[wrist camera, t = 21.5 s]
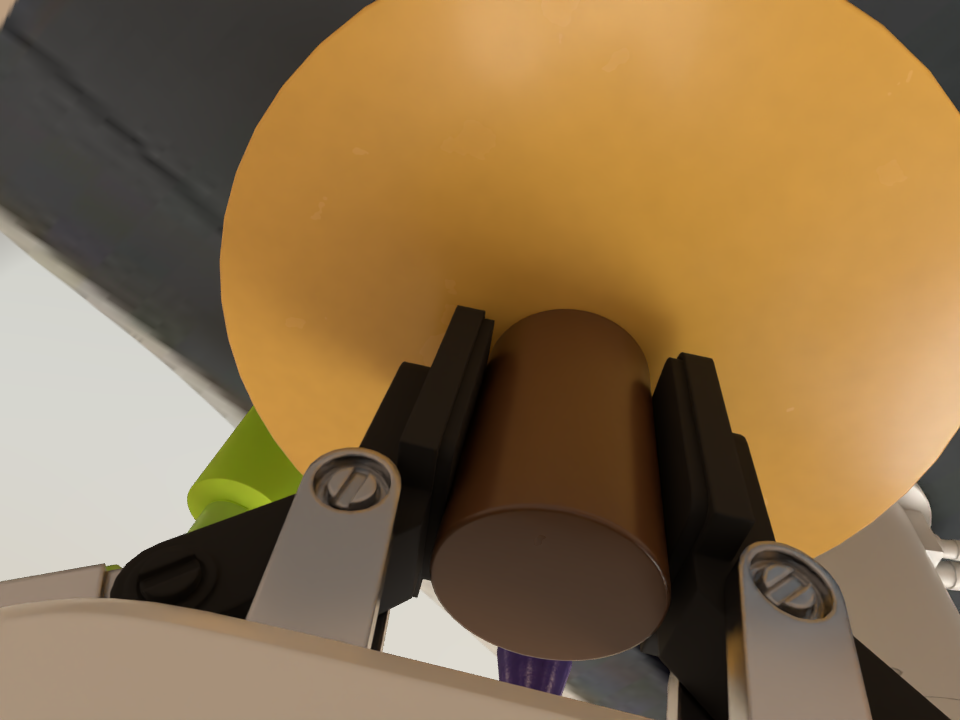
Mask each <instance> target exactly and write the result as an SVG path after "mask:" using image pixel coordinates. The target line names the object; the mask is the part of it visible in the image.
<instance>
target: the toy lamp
mask: <svg viewBox="0 0 960 720" xmlns="http://www.w3.org/2000/svg"><path fill="white" fill-rule="evenodd" d="M497 659H498V669H499V681H502V682H506V683H510V684H514V685H518V686H522V687H526V688H530V689H534V690H538V691H542V692H546V693H550V694H554V695H558V696H562V693H563V690H564V687H565V684H566V681H567V678H568V675H569V673H570V670H571V666H572V661H561V660H549V659H541V658H535V657H531V656H526V655H522V654H518V653H515V652H511V651H509V650H506V649H503V648H501V647H498V649H497Z"/></svg>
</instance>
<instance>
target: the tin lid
mask: <svg viewBox="0 0 960 720" xmlns="http://www.w3.org/2000/svg"><path fill="white" fill-rule="evenodd" d="M220 278H221V301H222V307H223V312H224V318H225V324H226V329H227V335H228V340H229V343H230V346H231V349H232V352H233V356H234V359H235V362H236V365H237V368H238V371H239V374H240V377H241V379H242V381H243V383H244V386H245V388H246V390H247V392H248V394H249V396H250V399H251V401H252V403H253V405H254V407H255V409H256V411H257V413H258V414H259V416H260V418H261V419H262V421H263V422H264V424H265V426H266V427H267V429H268V431H269V432H270V434H271V436H272V437H273V439H274V440H275V442H276V443H277V444H278V446H279V447H280V448H281V449H282V451H283V452H284V453H285V455H286V456H287V457H288V458H289V460H290V461H291V462H292V464H293V465H294V466H295V468H296V469H297V470H298V471H299V472H300V473H301V474H302V475H304V473H305V472H306V470H307V469H308V467H309V465H310V464H311V463H312V462H314V461H315V460H316V459H317V458H318V457H320V456H321V455H323V454H326V453H328V452H330V451H332V450H336V449H341V448H347V447H359V446H360V444H361V442H362V440H363V438H364V436H365V434H366V432H367V430H368V428H369V426H370V424H371V422H372V420H373V418H374V416H375V414H376V412H377V410H378V408H379V406H380V404H381V402H382V400H383V398H384V396H385V394H386V392H387V390H388V388H389V386H390V384H391V383H392V381H393V379H394V377H395V375H396V373H397V371H398V369H399V367H400V365H401V364H402V362H404V361H405V362H409V363H414V364H419V365H423V366H428V367H431V365H432V363H433V361H434V358H435V356H436V354H437V351H438V349H439V347H440V344H441V342H442V340H443V337H444V335H445V333H446V330H447V328H448V326H449V323H450V321H451V319H452V316H453V314H454V312H455V309H456V307H457V305H460V306H465V307H470V308H474V309H479V310H484V311H485V312H486V313H485V318H486V319H491V320H495V323H494V330H493V335H492V341H491V346H490V352H489V358H488V363H487V368H486V371H485V375H484V378H483V381H482V385H481V388H480V392H479V395H478V398H477V402H476V405H475V409H474V412H473V416H472V419H471V422H470V426H469V429H468V433H467V436H466V439H465V443H464V446H463V450H462V453H461V456H460V460H459V463H458V467H457V470H456V474H455V477H454V480H453V484H452V487H451V491H450V494H449V497H448V501H447V504H446V508H445V511H444V514H443V516H442V520H441V523H440V527H439V530H438V533H437V537H436V540H435V544H434V547H433V550H432V554H431V558H430V568H429V570H430V577H431V583H432V586H433V589H434V592H435V594H436V596H437V598H438V600H439V601H440V603H441V604H442V606H443V607H444V608H445V610H446V611H447V612H448V613H449V614H450V615H451V616H452V617H453V618H454V619H455V620H456V621H457V622H458V623H459V624H460V625H462V626H463V627H464V628H466V629H467V630H468V631H470V632H471V633H473V634H474V635H476V636H478V637H480V638H481V639H483V640H485V641H487V642H489V643H491V644H493V645H496V646H498V647H501V648H503V649H506V650H509V651H511V652H515V653H518V654H522V655H526V656H531V657H535V658H541V659H549V660H561V661H581V660H592V659H598V658H604V657H608V656H612V655H615V654H619V653H621V652H624V651H626V650H629V649H631V648H633V647H635V646H637V645H639V644H640V643H642V642H643V641H645V640H646V639H647V638H649V637H650V636H651V635H652V634H653V633H654V632H655V631H656V630H657V629H658V628H659V626H660V625H661V623H662V622H663V621H664V618H665V616H666V614H667V612H668V609H669V606H670V601H671V583H670V573H669V563H668V554H667V544H666V534H665V524H664V514H663V504H662V494H661V484H660V474H659V464H658V454H657V444H656V434H655V424H654V414H653V404H652V396H653V393H654V390H655V388H656V385H657V383H658V380H659V377H660V375H661V372H662V369H663V367H664V364H665V362H666V360H667V359H668V358H669V357H671V358H676V359H677V357H678V356H679V354H680V353H681V352H684V353H689V354H694V355H699V356H703V357H708V358H712V359H713V361H714V364H715V368H716V372H717V376H718V380H719V383H720V387H721V391H722V395H723V399H724V403H725V407H726V410H727V414H728V418H729V422H730V426H731V430H732V433H736V434H741V435H743V436H744V437H745V438H746V441H747V443H748V446H749V449H750V453H751V456H752V460H753V463H754V467H755V470H756V474H757V477H758V481H759V484H760V488H761V491H762V495H763V498H764V502H765V505H766V509H767V512H768V516H769V519H770V523H771V526H772V530H773V533H774V537H775V540H776V542H779V543H784V544H787V545H789V546H792V547H794V548H796V549H799V550H801V551H803V552H804V553H806V554H807V555H809V556H810V557H812V558H813V559H814V558H815V557H817V556H819V555H821V554H823V553H825V552H827V551H829V550H830V549H832V548H834V547H836V546H838V545H840V544H841V543H843V542H844V541H845V540H847V539H848V538H850V537H851V536H853V535H854V534H856V533H857V532H859V531H860V530H862V529H863V528H865V527H866V526H868V525H869V524H871V523H872V522H874V521H875V520H876V519H877V518H878V517H879V516H881V515H882V514H883V513H884V512H885V511H886V510H888V509H889V508H890V507H891V506H892V505H893V504H895V503H896V502H897V501H898V500H899V499H900V498H902V497H903V496H904V495H905V494H906V493H907V492H908V491H909V490H910V489H911V488H912V487H913V486H914V485H915V484H916V482H917V481H918V480H919V479H920V478H921V477H922V476H923V475H924V474H925V473H926V471H927V470H928V469H929V468H930V467H931V466H932V465H933V464H934V463H935V462H936V460H937V459H938V458H939V456H940V455H941V453H942V452H943V451H944V449H945V448H946V446H947V445H948V443H949V442H950V440H951V439H952V437H953V436H954V435H955V433H956V432H957V430H958V429H959V427H960V113H959V112H958V110H957V109H956V107H955V106H954V104H953V103H952V102H951V100H950V99H949V97H948V96H947V95H946V93H945V92H944V90H943V89H942V87H941V86H940V85H939V83H938V82H937V80H936V79H935V77H934V76H933V75H932V73H931V72H930V70H929V69H928V68H927V67H926V66H925V65H924V64H922V63H921V62H920V61H919V60H918V59H917V58H916V57H915V56H914V55H913V54H912V53H911V52H910V51H909V50H908V49H907V48H906V47H905V46H904V45H903V44H902V43H901V42H900V41H899V40H898V39H897V38H896V37H895V36H894V35H893V34H892V33H891V32H890V31H889V30H888V29H887V28H886V27H885V26H883V25H882V24H881V23H879V22H878V21H876V20H875V19H874V18H872V17H871V16H869V15H868V14H866V13H865V12H863V11H862V10H860V9H859V8H857V7H856V6H854V5H853V4H851V3H850V2H848V1H847V0H376V1H374V2H373V3H371V4H369V5H367V6H366V7H364V8H363V9H362V10H360V11H359V12H358V13H357V14H356V15H354V16H353V17H352V18H351V19H349V20H348V21H347V22H346V23H345V24H343V25H342V26H341V27H340V28H338V29H337V30H336V31H335V32H334V33H332V34H331V35H330V36H329V37H328V38H326V39H325V40H324V41H323V42H321V43H320V44H319V45H318V46H317V47H316V48H315V50H314V51H313V52H312V53H311V54H310V55H309V56H308V57H307V59H306V60H305V61H304V62H303V63H302V64H301V65H300V66H299V68H298V69H297V70H296V71H295V72H294V73H293V74H292V75H291V77H290V78H289V79H288V80H287V81H286V82H285V83H284V84H283V86H282V87H281V89H280V90H279V92H278V94H277V95H276V97H275V98H274V100H273V101H272V103H271V104H270V106H269V108H268V109H267V111H266V112H265V114H264V115H263V117H262V119H261V120H260V122H259V123H258V125H257V126H256V128H255V130H254V132H253V135H252V137H251V139H250V142H249V144H248V146H247V148H246V151H245V153H244V155H243V158H242V160H241V162H240V164H239V167H238V169H237V171H236V175H235V178H234V182H233V186H232V190H231V194H230V197H229V201H228V205H227V209H226V213H225V217H224V225H223V234H222V244H221V253H220Z"/></svg>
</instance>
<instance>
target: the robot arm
mask: <svg viewBox="0 0 960 720" xmlns="http://www.w3.org/2000/svg"><path fill="white" fill-rule="evenodd" d="M485 313H486V312H485V311H484V310H479V309H474V308H470V307H465V306H460V305H457V307H456V309H455V312H454V314H453V316H452V319H451V321H450V323H449V326H448V328H447V330H446V333H445V335H444V337H443V340H442V342H441V344H440V347H439V349H438V351H437V354H436V356H435V358H434V361H433V363H432V365H431V367H428V366H423V365H419V364H414V363H409V362H405V361H404V362H402V364H401V365H400V367H399V369H398V371H397V373H396V375H395V377H394V379H393V381H392V383H391V384H390V386H389V388H388V390H387V392H386V394H385V396H384V398H383V400H382V402H381V404H380V406H379V408H378V410H377V412H376V414H375V416H374V418H373V420H372V422H371V424H370V426H369V428H368V430H367V432H366V434H365V436H364V438H363V440H362V442H361V444H360V446H359V447H347V448H341V449H336V450H332V451H330V452H328V453H326V454H323V455H321V456H320V457H318V458H317V459H316V460H315V461H314V462H312V463H311V464H310V465H309V467H308V469H307V470H306V472H305V473H304V475H303V477H302V480H301V482H300V485H299V487H298V490H297V492H296V494H293V495H290V496H288V497H285V498H282V499H279V500H277V501H274V502H271V503H268V504H266V505H263V506H260V507H257V508H255V509H252V510H249V511H246V512H244V513H241V514H238V515H235V516H233V517H230V518H227V519H224V520H222V521H219V522H216V523H214V524H211V525H208V526H205V527H203V528H200V529H197V530H194V531H192V532H189V533H186V534H183V535H181V536H178V537H175V538H172V539H170V540H167V541H164V542H161V543H159V544H157V545H155V546H153V547H151V548H149V549H146V550H144V551H143V552H141V553H140V554H138V555H137V556H136V557H135V558H133V559H132V560H131V561H130V562H128V563H127V564H126V566H125V567H124V568H120V569H115V570H109V571H107V568H106V565H105V563H104V564H98V565H92V566H87V567H81V568H75V569H70V570H64V571H58V572H52V573H47V574H41V575H36V576H30V577H24V578H18V579H13V580H7V581H1V582H0V720H654V719H650V718H646V717H642V716H638V715H634V714H630V713H626V712H622V711H618V710H614V709H610V708H606V707H602V706H598V705H594V704H590V703H586V702H582V701H578V700H574V699H570V698H566V697H562V696H558V695H554V694H550V693H546V692H542V691H538V690H534V689H530V688H526V687H522V686H518V685H514V684H510V683H506V682H502V681H498V680H494V679H490V678H486V677H482V676H478V675H474V674H469V673H466V672H462V671H457V670H453V669H449V668H445V667H441V666H437V665H432V664H429V663H425V662H420V661H417V660H412V659H408V658H404V657H400V656H396V655H392V654H388V653H384V652H382V650H383V646H384V640H385V635H386V629H387V625H388V619H389V614H390V609H391V608H393V607H395V606H397V605H399V604H401V603H403V602H405V601H407V600H409V599H411V598H412V597H418V594H419V590H420V587H421V583H422V580H423V579H426V580H430V581H431V577H430V570H429V568H430V558H431V554H432V550H433V547H434V544H435V540H436V537H437V533H438V530H439V527H440V523H441V520H442V516H443V514H444V511H445V508H446V504H447V501H448V497H449V494H450V491H451V487H452V484H453V480H454V477H455V474H456V470H457V467H458V463H459V460H460V456H461V453H462V450H463V446H464V443H465V439H466V436H467V433H468V429H469V426H470V422H471V419H472V416H473V412H474V409H475V405H476V402H477V398H478V395H479V392H480V388H481V385H482V381H483V378H484V375H485V371H486V368H487V363H488V358H489V352H490V346H491V341H492V335H493V330H494V323H495V320H491V319H486V318H485ZM652 404H653V414H654V424H655V434H656V444H657V454H658V464H659V474H660V484H661V494H662V504H663V514H664V524H665V534H666V544H667V554H668V563H669V573H670V583H671V601H670V606H669V609H668V612H667V614H666V616H665V618H664V621H663V622H662V623H661V625H660V626H659V628H658V629H657V630H656V631H655V632H654V633H653V634H652V635H651V636H650V637H649V638H647V639H646V640H645V641H643V642H642V643H640V648H641V652H643V653H647V654H651V655H655V656H659V659H660V660H661V661H662V662H663V663H664V664H665V665H666V666H667V667H668V669H669V670H670V675H669V680H668V693H667V716H666V720H960V614H959V612H958V610H957V608H956V607H955V605H954V603H953V601H952V599H951V597H950V595H949V593H948V592H947V590H946V588H947V589H950V590H957V591H960V562H955V561H947V560H946V561H944V562H943V561H940V560H941V559H942V558H948V559H951V560H956V561H960V540H952V539H951V540H944V539H940V538H939V536H937V535H936V534H933V532H932V530H931V528H930V527H931V518H932V512H931V508H930V505H929V501H928V500H927V498H926V496H925V494H924V493H923V491H922V489H921V487H920V486H919V485H918V484H917V483H916V484H915V485H914V486H913V487H912V488H911V489H910V490H909V491H908V492H907V493H906V494H905V495H904V496H903V497H902V498H900V499H899V500H898V501H897V502H896V503H895V504H893V505H892V506H891V507H890V508H889V509H888V510H886V511H885V512H884V513H883V514H882V515H881V516H879V517H878V518H877V519H876V520H875V521H874V522H872V523H871V524H869V525H868V526H866V527H865V528H863V529H862V530H860V531H859V532H857V533H856V534H854V535H853V536H851V537H850V538H848V539H847V540H845V541H844V542H843V543H841V544H840V545H838V546H836V547H834V548H832V549H830V550H829V551H827V552H825V553H823V554H821V555H819V556H817V557H815V558H814V559H813V558H812V557H810V556H809V555H807V554H806V553H804V552H803V551H801V550H799V549H796V548H794V547H792V546H789V545H787V544H784V543H779V542H776V540H775V537H774V533H773V530H772V526H771V523H770V519H769V516H768V512H767V509H766V505H765V502H764V498H763V495H762V491H761V488H760V484H759V481H758V477H757V474H756V470H755V467H754V463H753V460H752V456H751V453H750V449H749V446H748V443H747V441H746V438H745V437H744V436H743V435H741V434H736V433H732V430H731V426H730V422H729V418H728V414H727V410H726V407H725V403H724V399H723V395H722V391H721V387H720V383H719V380H718V376H717V372H716V368H715V364H714V361H713V359H712V358H708V357H703V356H699V355H694V354H689V353H684V352H681V353H680V354H679V356H678V357H677V359H676V358H671V357H669V358H668V359H667V360H666V362H665V364H664V367H663V369H662V372H661V375H660V377H659V380H658V383H657V385H656V388H655V390H654V393H653V396H652Z"/></svg>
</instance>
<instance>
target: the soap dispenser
mask: <svg viewBox="0 0 960 720" xmlns="http://www.w3.org/2000/svg"><path fill="white" fill-rule="evenodd" d="M302 477H303V475H302V474H301V473H300V472H299V471H298V470H297V469H296V468H295V466H294V465H293V464H292V462H291V461H290V460H289V458H288V457H287V456H286V455H285V453H284V452H283V451H282V449H281V448H280V447H279V446H278V444H277V443H276V442H275V440H274V439H273V437H272V436H271V434H270V432H269V431H268V429H267V427H266V426H265V424H264V422H263V421H262V419H261V418H260V416H259V414H258V413H257V411H256V409H255V407H254V405H253V406H252V408H251V409H250V410H249V412H248V413H247V414H246V416H245V417H244V418H243V420H242V421H241V422H240V424H239V425H238V426H237V428H236V429H235V430H234V432H233V433H232V434H231V436H230V437H229V438H228V440H227V441H226V442H225V444H224V445H223V446H222V448H221V449H220V450H219V452H218V453H217V454H216V455H215V457H214V458H213V459H212V461H211V462H210V463H209V465H208V466H207V467H206V469H205V470H204V471H203V473H202V474H201V475H200V477H199V478H198V479H197V481H196V482H195V483H194V485H193V486H192V487H191V489H190V491H189V493H188V496H187V502H188V507H189V510H190V512H191V514H192V516H193V517H194V519H195V520H196V521H195V523H194V524H193V526H192V527H191V528H190V530H189V531H188V533H189V532H192V531H194V530H197V529H200V528H203V527H205V526H208V525H211V524H214V523H216V522H219V521H222V520H224V519H227V518H230V517H233V516H235V515H238V514H241V513H244V512H246V511H249V510H252V509H255V508H257V507H260V506H263V505H266V504H268V503H271V502H274V501H277V500H279V499H282V498H285V497H288V496H290V495H293V494H296V492H297V490H298V487H299V485H300V482H301V480H302ZM106 568H107V571H109V570H115V569H120V568H121V567H120V566H119V565H110V566H106Z"/></svg>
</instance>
